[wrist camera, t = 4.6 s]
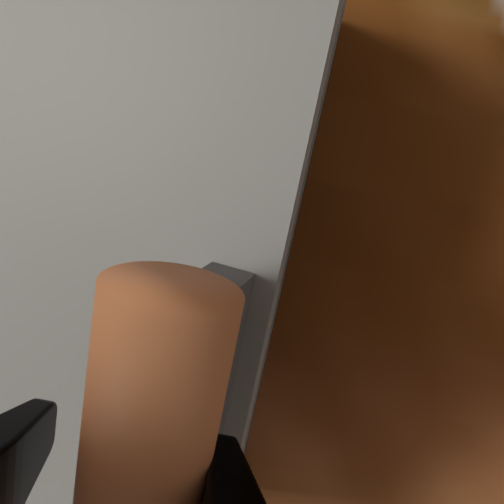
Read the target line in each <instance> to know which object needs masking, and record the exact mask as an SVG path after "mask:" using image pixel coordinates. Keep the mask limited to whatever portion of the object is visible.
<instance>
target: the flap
mask: <svg viewBox="0 0 504 504" xmlns="http://www.w3.org/2000/svg"><path fill="white" fill-rule="evenodd" d="M343 2H344V0H0V414H1V413H3V412H5V411H7V410H10V409H12V408H14V407H16V406H18V405H20V404H23V403H25V402H27V401H29V400H31V399H34V398H39V399H44V400H50V401H54V402H55V403H56V404H57V419H56V430H55V439H54V444H53V447H52V450H51V452H50V454H49V456H48V458H47V460H46V462H45V464H44V466H43V468H42V470H41V472H40V474H39V476H38V478H37V480H36V482H35V484H34V486H33V488H32V490H31V492H30V494H29V496H28V498H27V501H26V503H25V504H201V503H202V498H203V493H204V488H205V483H206V479H207V474H208V469H209V466H210V463H211V461H212V459H213V456H214V451H215V446H216V441H217V436H218V433H220V434H225V435H230V436H234V437H236V438H237V440H238V442H239V445H240V447H241V449H242V451H243V450H244V445H245V441H246V436H247V432H248V427H249V423H250V418H251V414H252V409H253V405H254V400H255V396H256V391H257V387H258V382H259V378H260V373H261V369H262V364H263V360H264V356H265V351H266V347H267V342H268V338H269V333H270V329H271V324H272V320H273V315H274V311H275V306H276V302H277V297H278V293H279V288H280V284H281V279H282V275H283V270H284V266H285V262H286V257H287V253H288V248H289V244H290V239H291V235H292V230H293V226H294V221H295V217H296V212H297V208H298V203H299V199H300V194H301V190H302V185H303V181H304V176H305V172H306V168H307V163H308V159H309V154H310V150H311V145H312V141H313V136H314V132H315V127H316V123H317V118H318V114H319V109H320V105H321V100H322V96H323V91H324V87H325V82H326V78H327V74H328V69H329V65H330V60H331V56H332V51H333V47H334V42H335V38H336V33H337V29H338V24H339V20H340V15H341V11H342V6H343Z"/></svg>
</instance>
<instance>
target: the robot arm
mask: <svg viewBox="0 0 504 504" xmlns="http://www.w3.org/2000/svg"><path fill="white" fill-rule="evenodd" d="M56 419H57V404H56V403H55V402H54V401H50V400H44V399H39V398H34V399H31V400H29V401H27V402H25V403H23V404H20V405H18V406H16V407H14V408H12V409H10V410H7V411H5V412H3V413H1V414H0V504H25V503H26V501H27V498H28V496H29V494H30V492H31V490H32V488H33V486H34V484H35V482H36V480H37V478H38V476H39V474H40V472H41V470H42V468H43V466H44V464H45V462H46V460H47V458H48V456H49V454H50V452H51V450H52V447H53V444H54V439H55V430H56ZM201 504H266V501H265V499H264V497H263V495H262V493H261V490H260V488H259V486H258V484H257V482H256V480H255V477H254V475H253V473H252V471H251V469H250V466H249V464H248V462H247V460H246V458H245V455H244V453H243V451H242V449H241V447H240V445H239V442H238V440H237V438H236V437H234V436H230V435H225V434H220V433H218V436H217V441H216V446H215V451H214V456H213V459H212V461H211V463H210V466H209V469H208V474H207V479H206V483H205V488H204V493H203V498H202V503H201Z"/></svg>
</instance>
